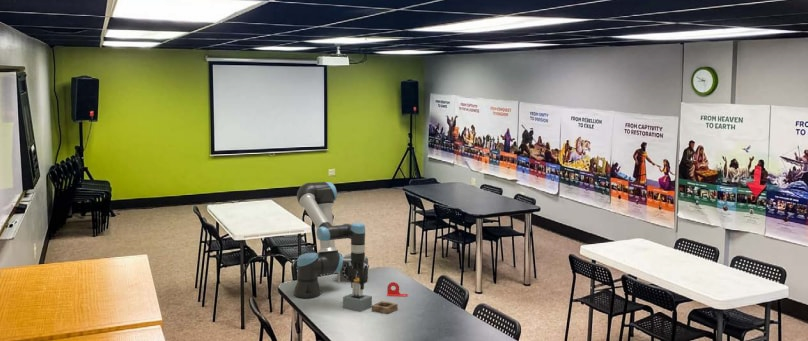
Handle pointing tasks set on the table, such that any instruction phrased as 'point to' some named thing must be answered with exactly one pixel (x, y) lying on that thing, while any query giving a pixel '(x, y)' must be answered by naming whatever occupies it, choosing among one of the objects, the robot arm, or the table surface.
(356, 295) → the pin
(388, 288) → the bracket
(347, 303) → the block
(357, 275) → the alarm clock
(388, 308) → the frame
